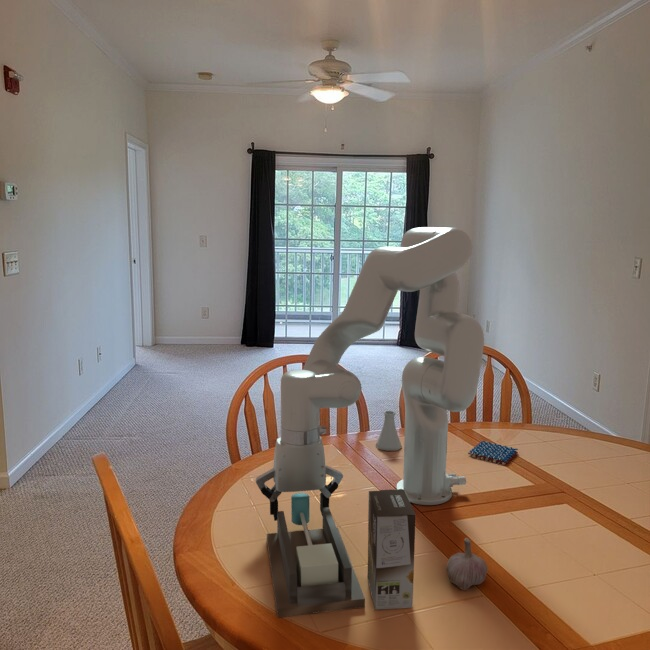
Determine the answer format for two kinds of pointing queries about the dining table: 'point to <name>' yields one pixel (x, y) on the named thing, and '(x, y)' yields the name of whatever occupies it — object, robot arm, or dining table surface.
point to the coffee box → (391, 549)
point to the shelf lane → (316, 596)
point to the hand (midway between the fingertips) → (299, 515)
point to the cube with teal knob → (312, 550)
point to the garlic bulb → (466, 568)
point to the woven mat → (493, 452)
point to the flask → (389, 434)
